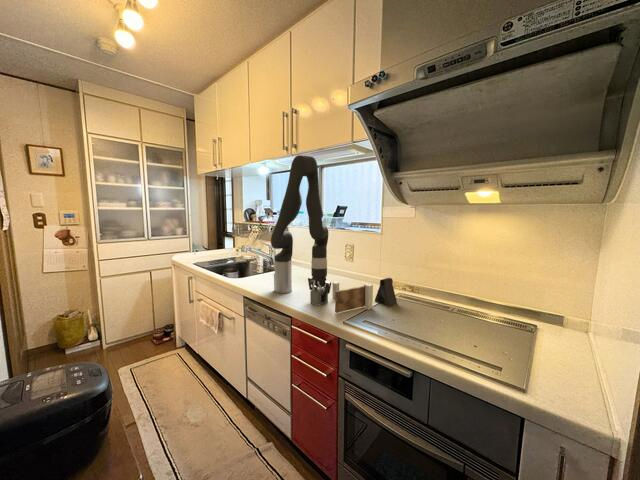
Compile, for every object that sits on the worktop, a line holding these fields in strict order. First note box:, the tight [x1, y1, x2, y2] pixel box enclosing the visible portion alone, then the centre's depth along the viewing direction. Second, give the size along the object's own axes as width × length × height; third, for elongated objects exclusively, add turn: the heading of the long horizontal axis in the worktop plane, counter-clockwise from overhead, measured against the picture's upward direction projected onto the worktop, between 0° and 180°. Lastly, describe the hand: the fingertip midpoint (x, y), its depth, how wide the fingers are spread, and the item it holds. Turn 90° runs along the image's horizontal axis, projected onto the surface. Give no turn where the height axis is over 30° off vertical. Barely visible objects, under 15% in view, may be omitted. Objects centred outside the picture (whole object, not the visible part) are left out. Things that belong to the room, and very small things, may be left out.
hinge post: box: [364, 283, 374, 310], centre depth 118 cm, size 2×3×11 cm, turn 136°
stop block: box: [309, 287, 329, 306], centre depth 125 cm, size 5×7×6 cm
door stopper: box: [374, 277, 398, 307], centre depth 125 cm, size 9×6×12 cm, turn 37°
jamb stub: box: [332, 281, 340, 299], centre depth 132 cm, size 2×2×8 cm
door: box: [334, 284, 367, 314], centre depth 115 cm, size 17×2×10 cm, turn 119°
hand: (319, 300), depth 125 cm, fingers closed on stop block, 5 cm apart
